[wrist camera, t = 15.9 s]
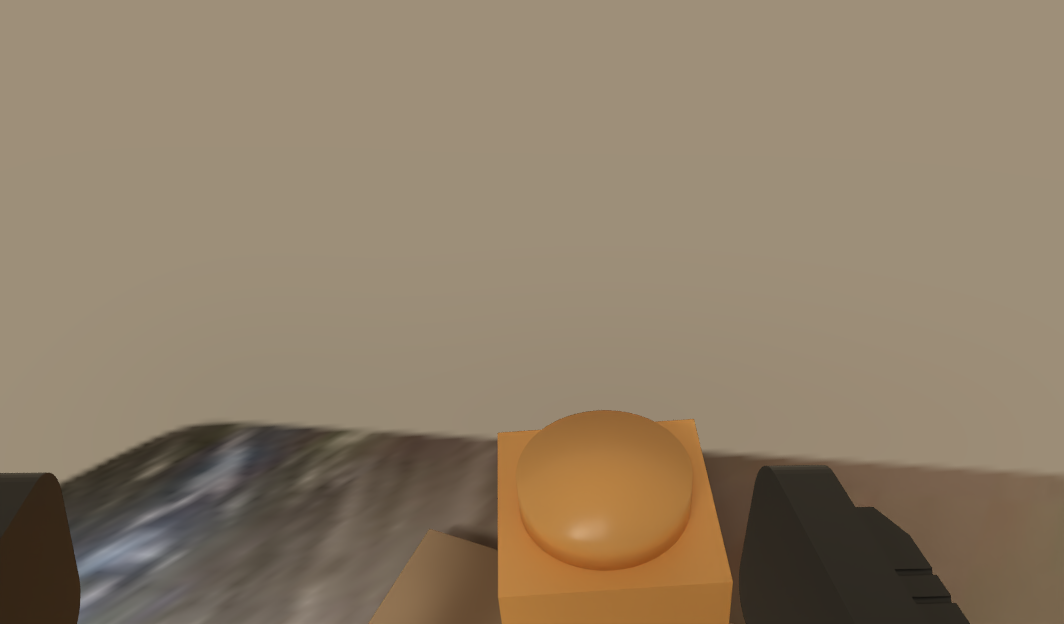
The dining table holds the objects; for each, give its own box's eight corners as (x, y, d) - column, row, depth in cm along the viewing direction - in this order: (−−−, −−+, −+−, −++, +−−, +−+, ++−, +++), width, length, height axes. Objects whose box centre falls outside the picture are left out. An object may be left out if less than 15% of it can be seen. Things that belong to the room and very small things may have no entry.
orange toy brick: (528, 805, 31) (493, 567, 24) (524, 643, 36) (494, 403, 29) (712, 794, 31) (735, 551, 24) (683, 633, 36) (695, 389, 28)
